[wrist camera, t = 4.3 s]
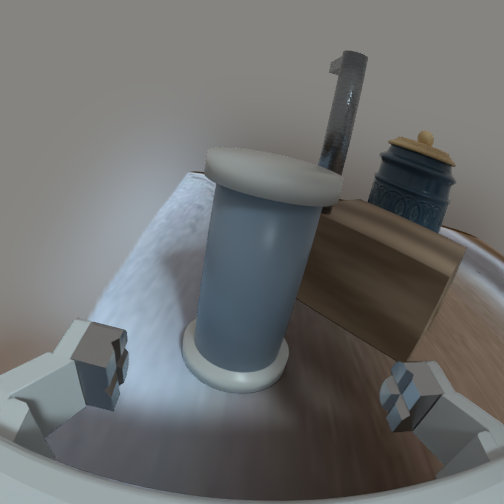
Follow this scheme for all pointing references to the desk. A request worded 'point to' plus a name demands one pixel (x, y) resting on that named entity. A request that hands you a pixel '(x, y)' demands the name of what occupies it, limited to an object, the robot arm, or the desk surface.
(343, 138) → the hook post
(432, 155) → the canister
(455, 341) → the desk surface
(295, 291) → the cord spool
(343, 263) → the walnut shelf block
